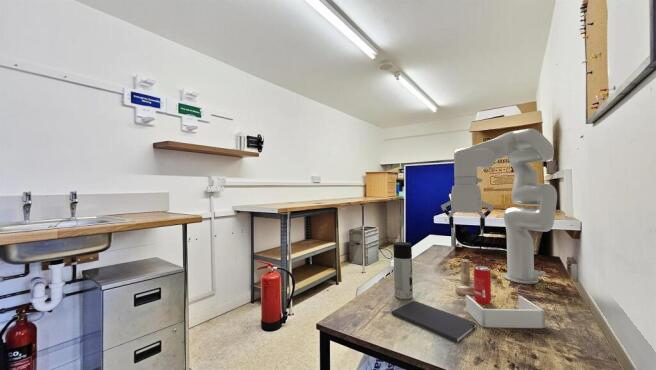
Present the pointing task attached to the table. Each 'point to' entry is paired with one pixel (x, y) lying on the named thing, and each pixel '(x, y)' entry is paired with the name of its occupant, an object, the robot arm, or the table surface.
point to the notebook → (435, 320)
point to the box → (508, 315)
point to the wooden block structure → (465, 279)
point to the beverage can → (482, 285)
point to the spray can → (403, 270)
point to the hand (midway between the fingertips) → (466, 228)
